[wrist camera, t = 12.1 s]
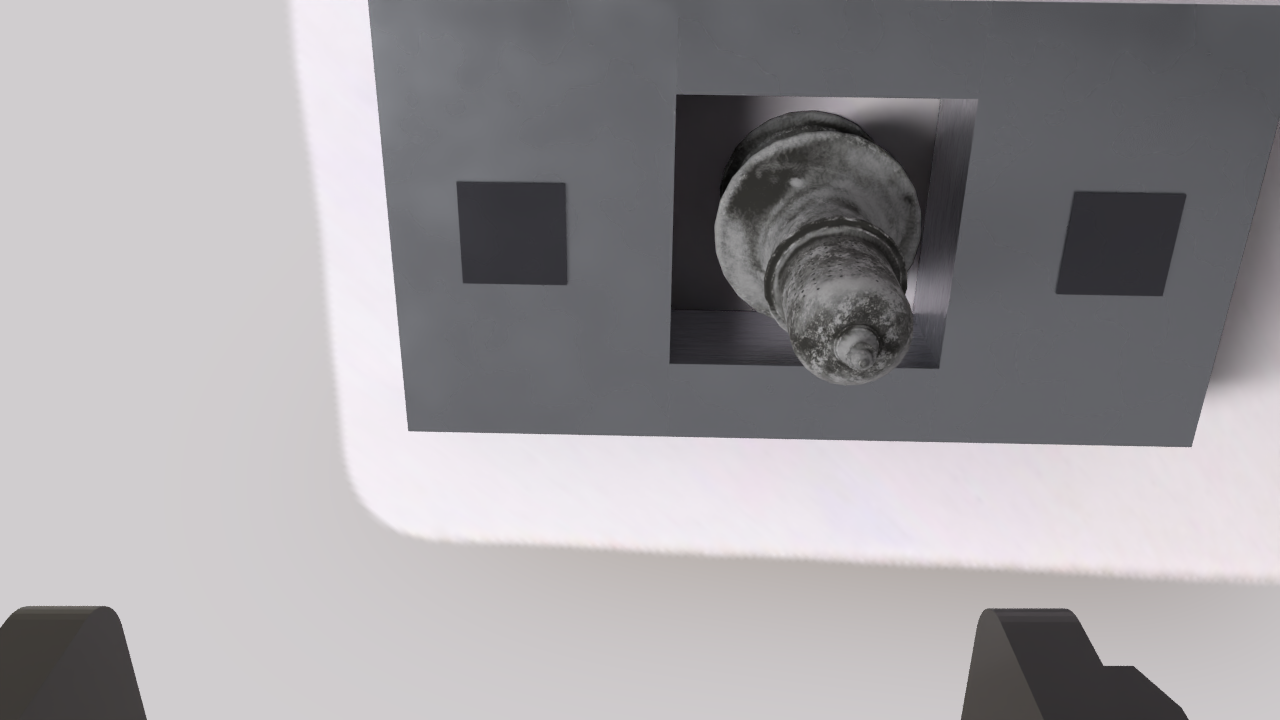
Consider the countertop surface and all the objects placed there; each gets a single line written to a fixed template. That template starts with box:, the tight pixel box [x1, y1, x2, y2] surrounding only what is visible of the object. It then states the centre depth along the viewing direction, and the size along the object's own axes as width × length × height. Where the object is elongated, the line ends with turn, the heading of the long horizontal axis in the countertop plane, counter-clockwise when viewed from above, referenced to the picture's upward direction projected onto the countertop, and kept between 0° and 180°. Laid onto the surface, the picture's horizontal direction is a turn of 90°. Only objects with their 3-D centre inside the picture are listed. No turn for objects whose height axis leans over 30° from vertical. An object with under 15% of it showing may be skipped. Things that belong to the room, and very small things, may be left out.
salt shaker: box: [714, 111, 921, 386], centre depth 30 cm, size 6×6×12 cm
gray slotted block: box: [368, 0, 1280, 447], centre depth 33 cm, size 24×13×4 cm, turn 89°
